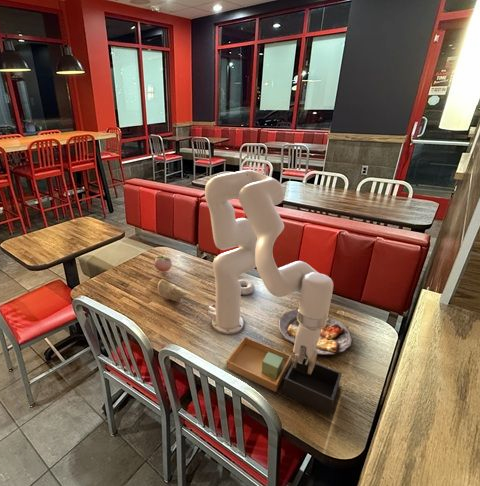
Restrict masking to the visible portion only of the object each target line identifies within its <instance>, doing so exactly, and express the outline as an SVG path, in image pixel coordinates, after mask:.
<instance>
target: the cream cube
mask: <svg viewBox="0 0 480 486" xmlns="http://www.w3.org/2000/svg"><path fill="white" fill-rule="evenodd" d="M317 352H318V351H316V350H314V352H313V354H312V356H311V358H309V361H308V363H309V367H308V374H310V375H311V373H312V371H313V368H314V366H315V363H317V357H318V354H317ZM298 355H299V352H298V353H297V354H295V353H294V359H293V362H294V366H293V367H294V368H296V364H297V359H298ZM306 358H307V357H304V360H306Z"/></svg>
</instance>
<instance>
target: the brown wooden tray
mask: <svg viewBox="0 0 480 486" xmlns="http://www.w3.org/2000/svg"><path fill="white" fill-rule="evenodd" d="M268 352H270V353H273V354H275V355H277V356H280V357H282V358H283V364H282V370H281V372H280V374H279V376H278V377H277V379H274V378H272V377H270V376H268V375H265V374H263V373H262V361H263V360H264V358H265V356H266V355H267V353H268ZM292 356H293V355H291V354H289V353H286V352H284V351H282V350H279V349H276V348H274V347H273V346H272V347H271V346H269V345H267V344H265V343H261V342H260V341H257V340H255V339H252V338H249V337H247V336H244V337H243V338H242V340H241V341H240V342H239V344H238V345H237V346H236V347H235V349H234V351H233V352H232V353H231V354H230V355H229V357H228V358H227V360H226V363H225V367H226V369H228V370H229V371H231V372H234V373H236V374H238V375H240V376H242V377H243V378H246V379H248V380H250V381H252V382H254V383H256V384H258V385H260V386H262V387H264V388H266V389H269V390H270V391H272V392H274V393H277V391H278V389H279V387H280V385H281V383H282V381H283V379H284V377H285V376H286V373H287V372H288V370H289V368H290V366H291V364H292V358H293V357H292Z"/></svg>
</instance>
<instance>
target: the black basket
mask: <svg viewBox="0 0 480 486" xmlns="http://www.w3.org/2000/svg"><path fill="white" fill-rule="evenodd" d="M293 366H294V361H293V362H292V363H291V365H290V367H289V369H288V371H287V374H286V375H285V378H284V383H283V390H282V394H284V395H286V396H288V397H289V398H292V399H294V400H297V401H299V402H301V403H302V404H305V405H307V406H308V407H310V408H313V409H315V410H317V411H319V412H321V413H323V414H326V415H327V416H329V417H330V416H331V413H332V410H333V406H334V403H335V400H336V396H337V393H338V390H339V386H340V382H341V378H342V374H343V373H342V372H340V371H337V370H335V369H333V368H331V367H328V366H325V365H322V364H321V363H318V362H316V363H315V366H314V368H313V371H312V373H311V375H310V374H308V373H307V375H306V374H303V373H301V372H299V371H296V368H294V367H293Z"/></svg>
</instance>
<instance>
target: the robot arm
mask: <svg viewBox="0 0 480 486" xmlns="http://www.w3.org/2000/svg"><path fill="white" fill-rule="evenodd" d="M204 197H205V202H206V204H207V207H208V210H209V214H210V222H211V231H212V238H213V242H214V245H215V247H216V248H217V249H218V250H220V251H224V252H222V253H220V254H218V255H217V256H215V257H214V259H213V261H212V269H213V275H214V282H215V307H213V306H211V305H210V306H208V308H207V310H208V312H207V315H209V316H211V317H212V318H211V325H212V327H213V329H214V330H215V331H217V332H219V333H222V334H229V335H231V334H236V333H238V332H240V331H242V329H243V327H244V324H245V323H244V322H245V321H244V319H243V317H242V316H241V301H242V300H241V299H242V298H241V297H242V296H241V295H242V294H241V285H240V283H239V281H238V280H239V279H237V278H238V277H239V276H240V275H243V274H246V273H248V272H251V271H253V270H255V269H256V270H257V272H258V275H259V277H260V279H261V281H262V283H263V285H264V287H265V288H266V289H267V291H268V292H269V293H270V294H271V295H272V296H274V297H276V298H282V297H285V296H286V297H287V296H289V295H291V294H292V293H295V292H297V291H300V295H299V301H298V308H297V309H298V316H297V320H298V322H299V326H298V330H297V334H296V339H295V343H293V344H294V345H293V349H292V351H293V353H294V355H295V354H297V353H298V352H299V355H298V359H297V364H296V371H299V372H301V373H303V374H306V375H307V373H308V367H309V363H308V361H309V358H311V356H312V354H313V352H314V350H315V348H316V346H317V343H318V340H319V337H320V333H321V329H323V328H324V327H325V326H326V324H327V318H328V316H329V313H330V308H331V302H332V296H333V291H334V280H333V279H332V278H331V277H329V275H327V274H324V273H320V272H319V271H317V270H316V269H315V268H313V267H312V266H311V265H310V264H308V263H307V262H305V261H302V260H297V261H293V262H290V263H287V264H285V265H282V266H280V267H278V266H277V263H276V261H275V258H274V254H273V253H274V252H273V251H274V245H275V242H276V240H277V238H278V237H279V236H280V234H282V232H283V231H284V229H285V223H284V222H283V220H282V217H281V216H280V213H279V212H278V209H277V208H276V206H278V205H279V204H281V203H282V202H283V201H284V199H285V188H284V186H283V185H282V184H281V182H280V181H279V180H277V179H276V178H274V177H272V176H269V175H267V174H263V173H262V172H258V171H255V170H253V169H244V170H238V171H235V172H234V171H233V172H227V173H223V174H218V175H217V176H216V175H215V176H213V177H212V178H210V179H209V180H208V181H207V182H206V184H205V187H204ZM235 199H238V202H239V204H240V206H241V208H242V210H243V212H244V214H245V216H246V217H240V218H236V210H235V208H234V206H233V204H232V203H231V202H230V201H229V200H235ZM236 247H237V248H236ZM233 248H234V249H233ZM225 250H228V251H225ZM304 357H307V358H306V360H304Z"/></svg>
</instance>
